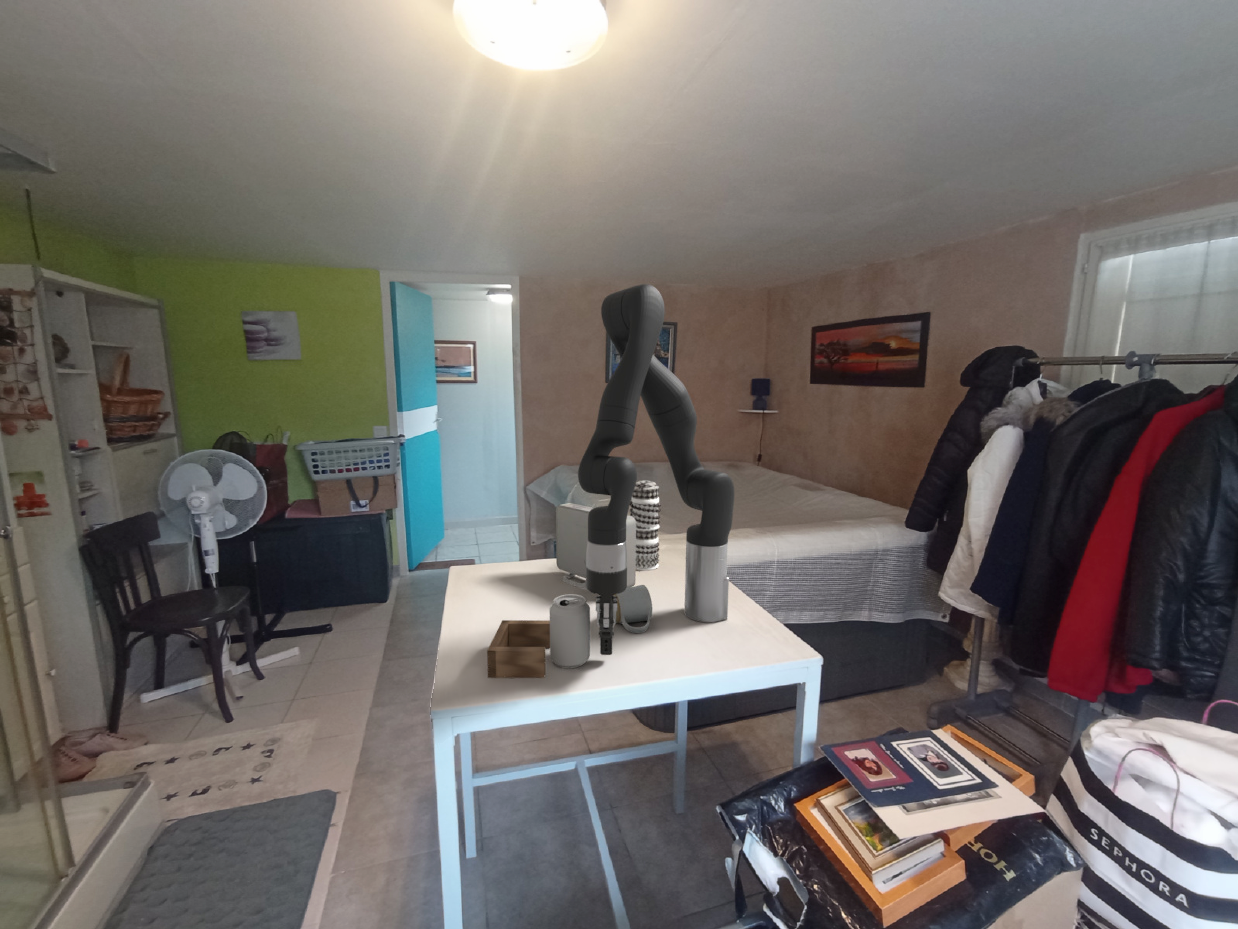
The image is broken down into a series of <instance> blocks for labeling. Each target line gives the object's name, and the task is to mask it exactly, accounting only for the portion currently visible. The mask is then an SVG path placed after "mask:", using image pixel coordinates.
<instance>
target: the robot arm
mask: <svg viewBox="0 0 1238 929" xmlns="http://www.w3.org/2000/svg"><path fill="white" fill-rule="evenodd" d="M600 309H601V310H600V315H601V320H602V323H603V327H604V329H605V331H606V333H607V336H608V337H609V338H610V341H611V343H612V344H613V346H614V348H615V350H616V351H617V353H618V355H619V356H620V358H621V359H620V361H619V363H618V365H617V366H616V368H615V370H614V371H613V373H612V375H611V377H610V379H609V380H608V382H607V384H606V386H605V388H604V390H603V392H602V395H601V399H600V402H599V408H598V413H597V420H596V426H595V429H594V432H593V434H592V436H591V439H590V440H589V443H588V445H587V447H586V450H585V451H584V454H583V456H582V458H581V461H580V463H579V466H578V471H577V478H578V483H579V486H580V487H581V489H582V490H583V491H584V492H586V493H588V494H595V495H605V496H610V501H608V502H609V503H608V505H603V506H602V505H601V506H596V507H592V508H593V509H592V510H590V512H589V515H588V544H587V552H586V578H585V581H586V587H587V589H588V590H589V592H590V593H592V594H594V595H595V594H596V596H595V611H596V624H597V626H598V627H599V628H598V629H599V630H598V636H599V638H600V644H599V646H600V648H599V650H600V651H599V653H600V655H601V656H611V655H612V654H613V638H614V635H615V632H614V626H616V625H617V623H616V611H617V596H613V595H615V594H619V593H622V592H623V591H625V590H626V588H627V546H626V519H627V515H628V514H629V511H630V507H631V506H630V502H631V501H632V495H633V492H634V489H635V485H636V482H637V481H638V480H637V479H638V473H637V468H636V466H635V464H634V463H633V461H632V460H631V459H630V458H628V457H624V456H612V455H610V454H611V453H612V451H613V450H614V449H615V448H619V447H623V446H627V445H629V444H631V442H632V441H633V439H634V434H635V430H636V429H635V428H636V423H637V422H636V421H637V417H638V410H639V404H640V401H641V400H642V402H643V405H644V407H645V410H646V412H647V414H648V417H649V419H650V421H651V423H652V426H653V428H654V430H655V432H656V434H657V436H658V438H659V440H660V442H661V446H662V448H663V450H664V453H665V455H666V457H667V459H668V463H669V464H670V465H669V466H670V468H671V471H672V474H673V477H674V480H675V484H676V487H677V490H678V492H679V495H680V497H681V500H682V501H683V502H684V503H685V505H686V506H688V507H689V508H691V509H694V510H698V511H701V520H700V523H697V524H692V525H690V526H688V527H687V529H686V537H685V538H686V539H685V540H686V541H685V542H686V543H685V547H686V548H685V549H686V550H685V572H684V573H685V574H684V575H685V578H684V579H685V580H684V581H685V583H684V615H685V616H686V617H688V618H689V619H691V620H693V621H697V622H702V623H711V622H712V623H715V622H720V621H722V620H728V613H729V587H730V578H729V577H728V574H727V572H728V548H729V547H728V544H729V535H730V532H731V530H732V526H733V517H734V506H735V504H734V503H735V486H734V482H733V479H732V477H730V475H729V474H727V473H725V472H723V471H716V470H712V469H710V470H709V469H705V468H704V466H703V465H702V463H701V461H700V458H699V457H698V454H697V452H696V449H695V437H696V431H697V426H698V425H697V423H698V422H697V421H698V419H697V418H698V417H697V411H696V409H695V407H694V404H693V401H692V399H691V397H690V394H689V392H688V390H687V387H686V386H685V385H684V382H682V381H681V379H679V378H678V376H676V375H675V374H674V373H673V372H672V371H671V370H670V369H669V368H668V367H666V365H664V364H663V363H662V362H661V361H660V360H659V359H658V358H657V357H656V356H655V355H654V354H655V350H656V347H657V344H658V342H659V341H658V340H659V337H660V334H661V332H662V328H663V324H664V321H665V315H666V313H665V312H666V311H665V310H666V308H665V302H664V298H663V296H662V293H660V291H659V290H658V289H657V288H656V287H655V286H653V284H652V285H651V284H648V283H643V284H637V285H634V286H630V287H628V288H624V289H622V290H618V291H615V292H613V293H610V294H608V295H607V296H606V297H605V298H604V299H603V301H602V303H601V307H600ZM640 399H641V400H640ZM588 590H587V591H588Z"/></svg>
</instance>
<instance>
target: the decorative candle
mask: <svg viewBox="0 0 1238 929" xmlns="http://www.w3.org/2000/svg"><path fill="white" fill-rule="evenodd" d="M659 488H660V486H658V485H657V483H656V482H655V481H653V480H648V479H647V480H645V479H644V480H637V481H636V485H635V489H634V492H633V495H632V498H631V502H630V506H629V512H630V515H629V516H632V517H634V518H635V520H636V570H637V571H643V572H644V571H645V572H646V571H654V570H656V568H657V569H658V568H659V567H660V565H659V562H660V559H659V558H660V554H659V551H660V548H659V547H660V542H659V529H660V527H661V526H660V525H659V524H661V521H660V518H661V515H659V513H660V512H662V510H661V508H660V507H661V506H662V504H661V503H660V497H659V490H660V489H659Z"/></svg>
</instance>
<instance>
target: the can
mask: <svg viewBox="0 0 1238 929" xmlns="http://www.w3.org/2000/svg"><path fill="white" fill-rule="evenodd" d="M549 621H550V648H549V658H550V661H551V662H553V663H554V664H555V665H556V666H558V667H560V668H563V669H573V668H579V667H580V666H582V665H584V664H585V663H586V662H588V660H589V659H590V657H591V607H590V605H589V604H588V603H587V599H586V597H585V596H582V595H581V594H574V593H573V594H570V593H569V594H562V595H558V596H555V598H554V599H553V600H552V605H551V606H550V607H549Z"/></svg>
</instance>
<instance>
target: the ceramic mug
mask: <svg viewBox="0 0 1238 929" xmlns="http://www.w3.org/2000/svg"><path fill="white" fill-rule="evenodd" d="M613 596H617V611H616V624H622V626H623V627H624V629H626V630H627V631H628V632H630V633H633V634H641V633H645V632H646V631H647V630H648V629H649V626H650V621H651V618H652V617H653V601H652V598H651V597H652V596H651V595H650V591H649V589H648V587H647V586H646V585H645V584H639V585H634V586H632V587H629V588H626V590H625V591H623V592H622V593H619V594H615V595H613ZM637 622H646V623H645V625H643V626H641V627H634V626H631V625H630V624H631V623H637ZM629 623H630V624H629Z"/></svg>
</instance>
